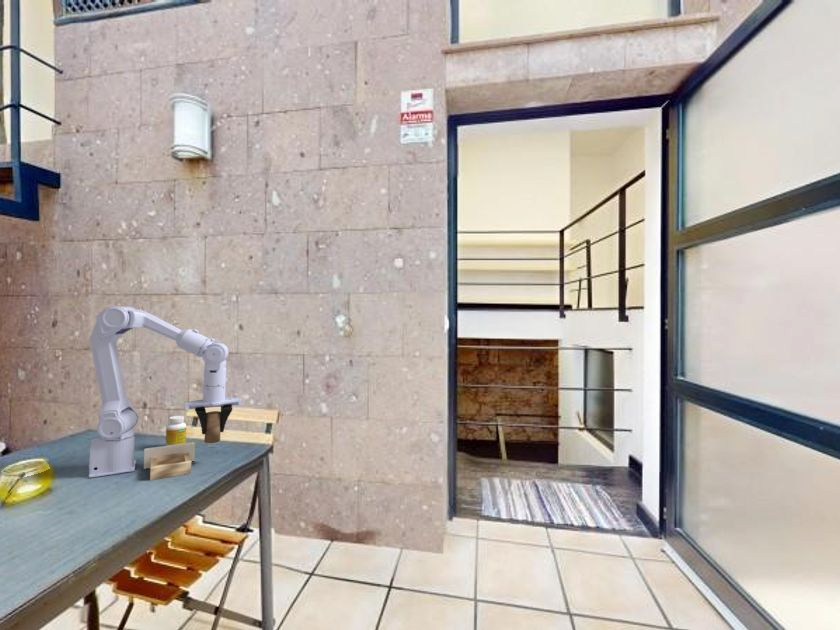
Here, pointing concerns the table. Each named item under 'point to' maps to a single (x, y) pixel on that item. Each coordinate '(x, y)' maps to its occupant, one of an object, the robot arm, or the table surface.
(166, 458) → the socket block
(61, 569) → the table surface
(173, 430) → the supplement bottle
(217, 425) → the dowel
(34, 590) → the table surface
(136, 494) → the table surface
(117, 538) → the table surface
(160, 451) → the wall
